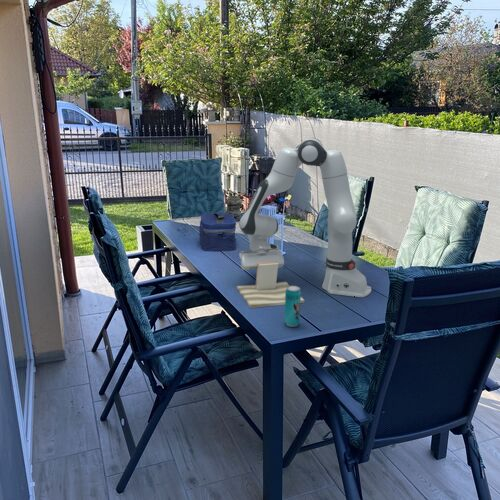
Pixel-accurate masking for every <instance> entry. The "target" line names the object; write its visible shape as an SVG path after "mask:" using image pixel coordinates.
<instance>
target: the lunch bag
mask: <svg viewBox="0 0 500 500" xmlns="http://www.w3.org/2000/svg"><path fill="white" fill-rule="evenodd" d="M200 216H201V217H200V221H199V226H198V227H199V241H200V246H201V249H202V251H204V252H223V251H225V252H227V251H228V252H229V251H234V250H236V248H237V247H236V243H237V238H236V231H237V230H236V228H237V227H236V226H237V222H236V220H235V218H234V217H233V215H232V214H225V213H223V212H203V213H201V215H200Z"/></svg>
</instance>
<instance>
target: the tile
mask: <svg viewBox="0 0 500 500" xmlns="http://www.w3.org/2000/svg"><path fill="white" fill-rule="evenodd" d="M278 270H279V268H278V262H277V261H272V262H259V263H257V269H256V276H255V277H256V278H255V284H256V286H255V287H256V289H257V290H263V289H274V288H276V283H277V279H278V272H279V271H278Z"/></svg>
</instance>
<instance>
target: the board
mask: <svg viewBox="0 0 500 500" xmlns="http://www.w3.org/2000/svg"><path fill="white" fill-rule="evenodd" d="M255 286H256V283H255V284H244V285H236V289H237V292H239V294H240V295H241V296H242V298H243V299H244V300H245V302H246V304H247V305H248V307H249V308H250V309H255V308H264V307H265V308H266V307H274V306H275V307H276V306H285V294H286V288H287V287H288V286H291V285H290V284H288V282H287V281H278V282H276V288H274V289H263V290H257V289H256V287H255ZM300 304H305V299H304V298H303V297H302V296H301V299H300Z"/></svg>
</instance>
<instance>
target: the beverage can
mask: <svg viewBox="0 0 500 500" xmlns="http://www.w3.org/2000/svg"><path fill="white" fill-rule="evenodd" d="M301 293H302V292H301V287H299V286H297V285H290V286H288V287H287V288H286V294H285V305H284V323H285V325H286V326H287V327H290V328H294V327H298V325H299V324H300V320H301V319H300V317H301V303H300V299H301V297H302V294H301Z"/></svg>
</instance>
